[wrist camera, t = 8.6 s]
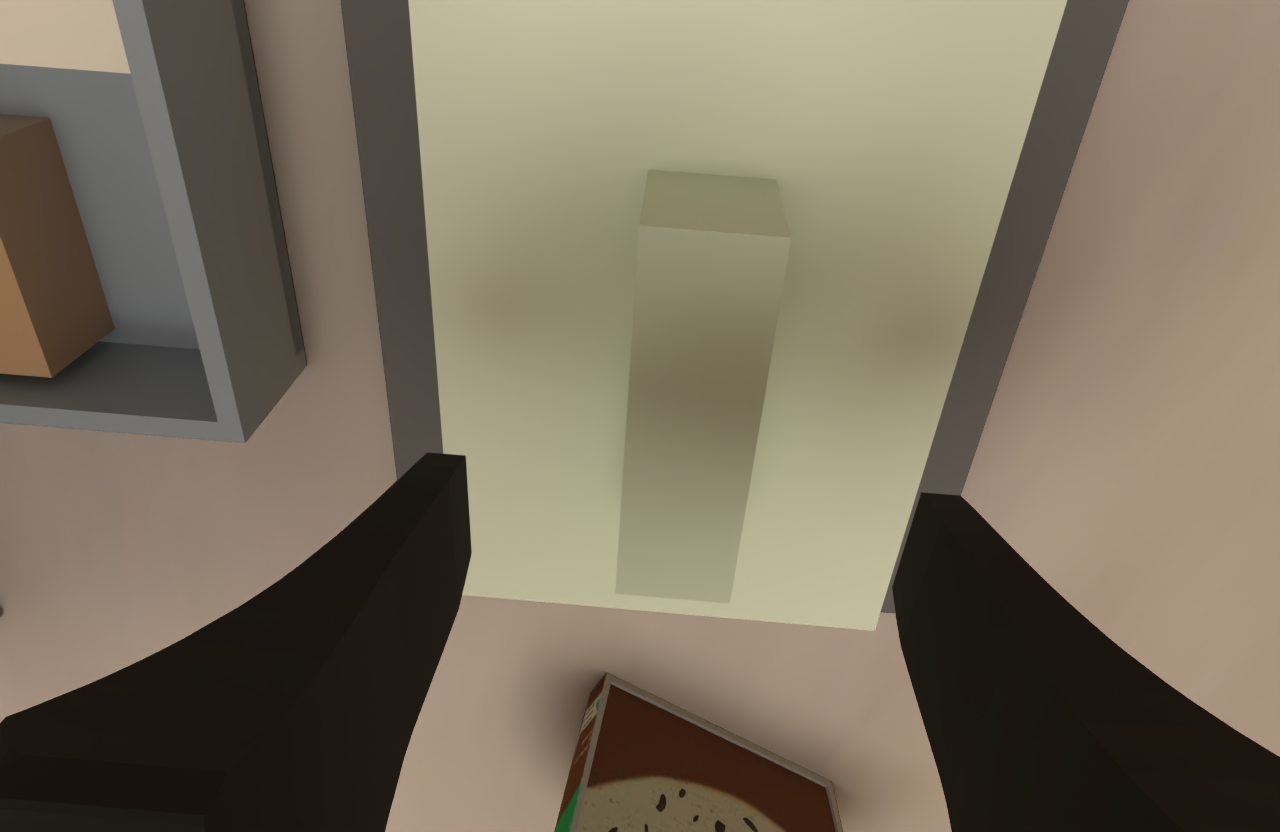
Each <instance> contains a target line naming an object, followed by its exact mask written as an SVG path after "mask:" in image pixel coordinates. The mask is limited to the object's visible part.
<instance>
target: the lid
mask: <svg viewBox="0 0 1280 832" xmlns="http://www.w3.org/2000/svg"><path fill="white" fill-rule="evenodd" d="M408 2H409V15H410V28H411V41H412V54H413V67H414V80H415V92H416V105H417V118H418V131H419V144H420V157H421V170H422V183H423V196H424V209H425V222H426V235H427V248H428V261H429V274H430V287H431V300H432V313H433V326H434V339H435V352H436V365H437V378H438V391H439V404H440V416H441V429H442V442H443V454H453V455H466V468H467V484H468V501H469V517H470V534H471V550H472V554H471V559H470V563H469V567H468V572H467V576H466V581H465V585H464V589H463V593H462V595H468V596H480V597H492V598H503V599H515V600H526V601H538V602H549V603H561V604H572V605H584V606H595V607H607V608H618V609H630V610H642V611H653V612H665V613H676V614H688V615H699V616H711V617H722V618H734V619H745V620H757V621H768V622H780V623H792V624H803V625H815V626H826V627H838V628H849V629H861V630H872V631H875V628H876V625H877V622H878V619H879V615H880V612H881V609H882V605H883V602H884V599H885V596H886V592H887V589H888V586H889V583H890V579H891V576H892V573H893V569H894V566H895V563H896V560H897V556H898V553H899V550H900V547H901V543H902V540H903V537H904V533H905V530H906V527H907V524H908V520H909V517H910V514H911V510H912V507H913V504H914V501H915V497H916V494H917V491H918V488H919V484H920V481H921V478H922V474H923V471H924V468H925V465H926V461H927V458H928V455H929V452H930V448H931V445H932V442H933V438H934V435H935V432H936V429H937V425H938V422H939V419H940V416H941V412H942V409H943V406H944V402H945V399H946V396H947V393H948V389H949V386H950V383H951V380H952V376H953V373H954V370H955V366H956V363H957V360H958V357H959V353H960V350H961V347H962V344H963V340H964V337H965V334H966V330H967V327H968V324H969V321H970V317H971V314H972V311H973V308H974V304H975V301H976V298H977V294H978V291H979V288H980V285H981V281H982V278H983V275H984V272H985V268H986V265H987V262H988V258H989V255H990V252H991V249H992V245H993V242H994V239H995V236H996V232H997V229H998V226H999V222H1000V219H1001V216H1002V213H1003V209H1004V206H1005V203H1006V200H1007V196H1008V193H1009V190H1010V186H1011V183H1012V180H1013V177H1014V173H1015V170H1016V167H1017V164H1018V160H1019V157H1020V154H1021V150H1022V147H1023V144H1024V141H1025V137H1026V134H1027V131H1028V128H1029V124H1030V121H1031V118H1032V114H1033V111H1034V108H1035V105H1036V101H1037V98H1038V95H1039V92H1040V88H1041V85H1042V82H1043V78H1044V75H1045V72H1046V69H1047V65H1048V62H1049V59H1050V56H1051V52H1052V49H1053V46H1054V42H1055V39H1056V36H1057V33H1058V29H1059V26H1060V23H1061V19H1062V16H1063V13H1064V10H1065V6H1066V3H1067V0H408Z"/></svg>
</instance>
